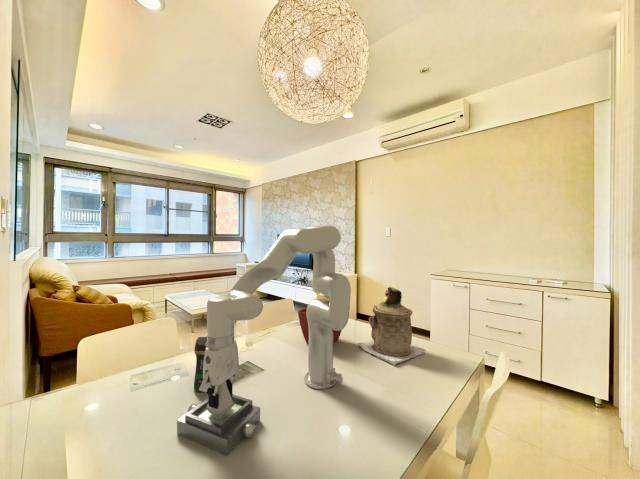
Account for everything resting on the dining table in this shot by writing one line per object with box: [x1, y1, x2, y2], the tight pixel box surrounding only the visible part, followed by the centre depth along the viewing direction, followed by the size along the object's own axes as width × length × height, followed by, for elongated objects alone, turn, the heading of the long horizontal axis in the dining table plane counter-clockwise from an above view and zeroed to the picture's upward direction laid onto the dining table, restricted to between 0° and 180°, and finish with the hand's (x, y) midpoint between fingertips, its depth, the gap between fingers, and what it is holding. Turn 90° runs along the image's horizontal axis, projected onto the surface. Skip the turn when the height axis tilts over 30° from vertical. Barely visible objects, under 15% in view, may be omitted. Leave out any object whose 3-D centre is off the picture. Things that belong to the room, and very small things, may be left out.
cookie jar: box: [356, 286, 427, 366], centre depth 131 cm, size 25×25×32 cm
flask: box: [207, 381, 234, 415], centre depth 77 cm, size 7×7×10 cm
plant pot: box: [297, 307, 343, 344], centre depth 140 cm, size 19×19×17 cm
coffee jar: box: [193, 336, 214, 393], centre depth 98 cm, size 10×8×19 cm
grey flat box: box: [176, 393, 261, 456], centre depth 77 cm, size 23×14×6 cm, turn 67°
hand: (220, 400), depth 77 cm, fingers closed on flask, 4 cm apart
